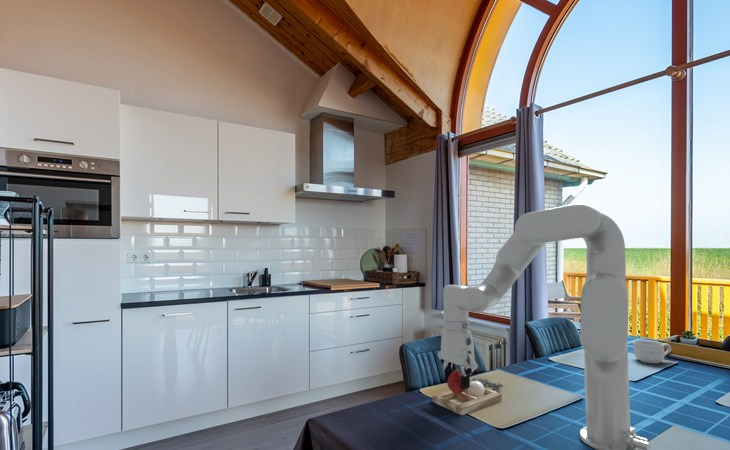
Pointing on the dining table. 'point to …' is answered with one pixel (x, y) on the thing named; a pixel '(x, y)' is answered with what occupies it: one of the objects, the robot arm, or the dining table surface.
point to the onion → (455, 382)
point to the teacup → (650, 351)
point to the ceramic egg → (476, 389)
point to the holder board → (466, 400)
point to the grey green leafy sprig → (491, 384)
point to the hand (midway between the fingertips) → (457, 384)
